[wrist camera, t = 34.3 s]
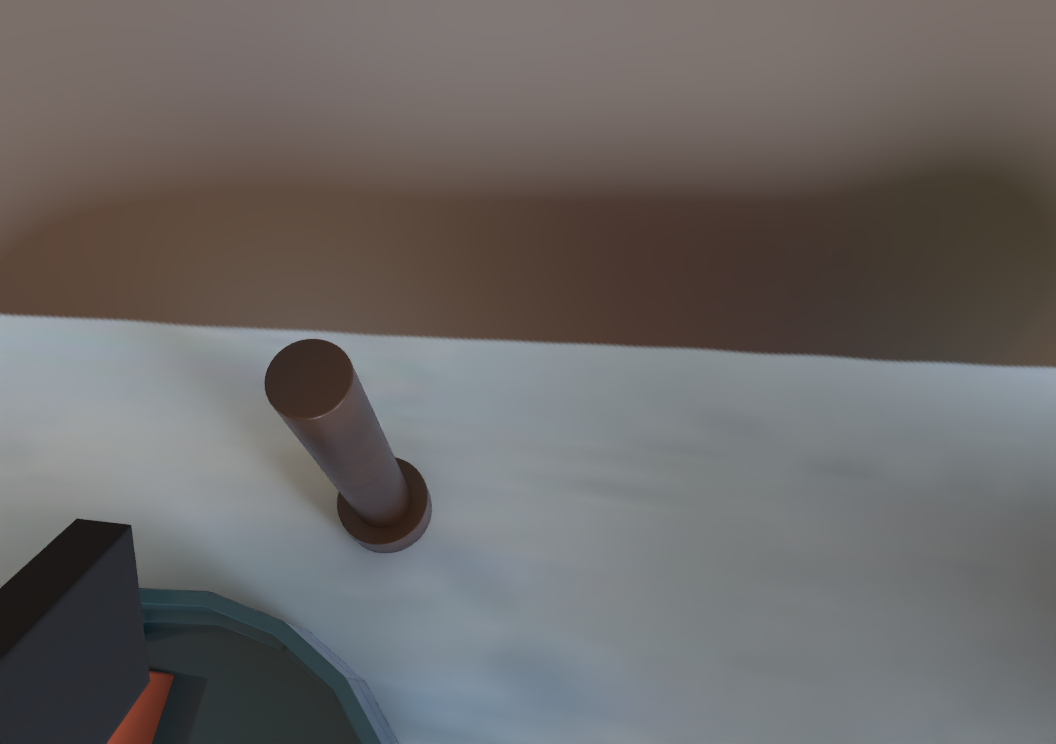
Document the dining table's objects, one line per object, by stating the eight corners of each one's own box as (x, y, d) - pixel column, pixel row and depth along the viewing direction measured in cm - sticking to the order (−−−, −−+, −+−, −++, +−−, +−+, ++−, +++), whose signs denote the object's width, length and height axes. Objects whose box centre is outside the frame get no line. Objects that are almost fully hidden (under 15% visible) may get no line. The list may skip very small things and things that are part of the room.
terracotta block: (140, 779, 32) (92, 787, 29) (46, 759, 33) (-14, 765, 29) (175, 674, 34) (134, 670, 30) (84, 656, 34) (33, 649, 30)
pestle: (449, 511, 37) (408, 380, 23) (382, 571, 36) (294, 474, 22) (394, 451, 38) (321, 289, 24) (328, 508, 37) (208, 374, 23)
